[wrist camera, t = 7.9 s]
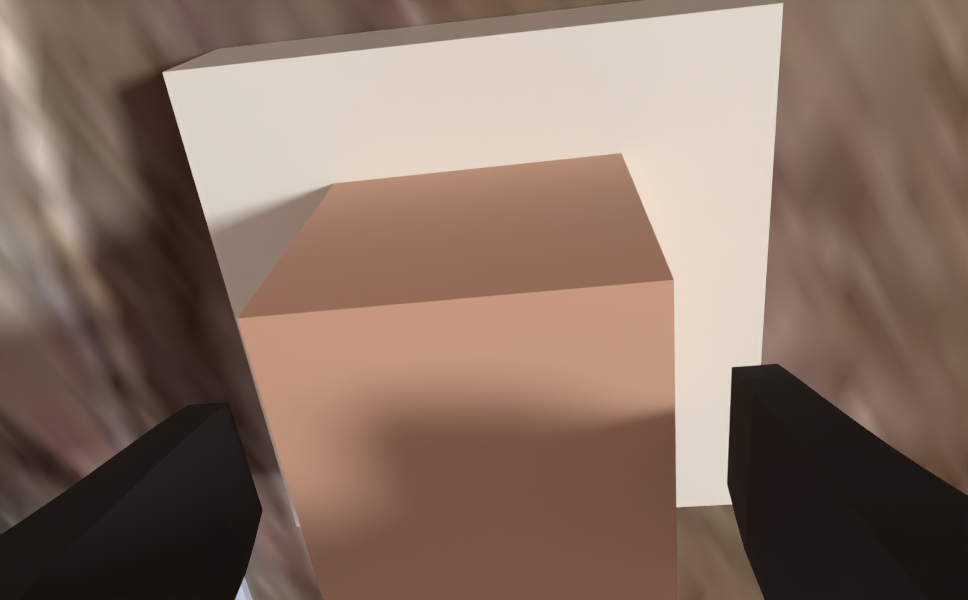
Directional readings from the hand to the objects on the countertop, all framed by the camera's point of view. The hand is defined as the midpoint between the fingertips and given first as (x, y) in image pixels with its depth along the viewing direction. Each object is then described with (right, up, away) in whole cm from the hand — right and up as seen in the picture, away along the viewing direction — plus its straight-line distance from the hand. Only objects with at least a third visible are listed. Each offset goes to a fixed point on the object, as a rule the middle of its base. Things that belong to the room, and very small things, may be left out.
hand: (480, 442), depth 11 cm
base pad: (0, +3, +6) cm, 6 cm away
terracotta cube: (0, +2, +3) cm, 4 cm away
